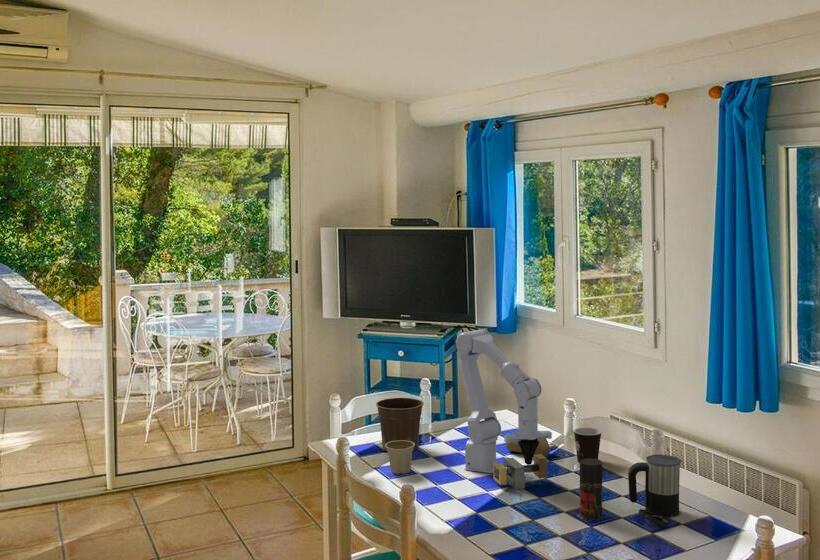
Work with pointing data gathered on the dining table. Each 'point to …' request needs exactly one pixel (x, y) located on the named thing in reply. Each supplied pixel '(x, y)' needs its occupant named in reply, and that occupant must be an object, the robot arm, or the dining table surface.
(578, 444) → the coffee mug
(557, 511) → the dining table surface
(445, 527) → the dining table surface
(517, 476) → the bearing
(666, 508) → the milk frother
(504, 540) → the dining table surface
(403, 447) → the flower pot
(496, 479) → the frame
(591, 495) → the deodorant
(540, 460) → the shaft
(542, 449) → the bread roll
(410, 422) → the plant pot
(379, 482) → the dining table surface
